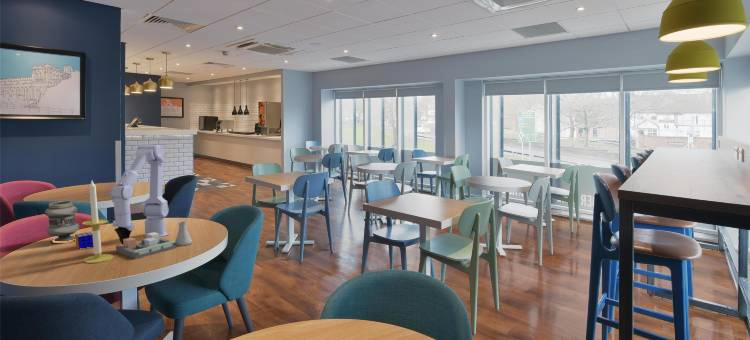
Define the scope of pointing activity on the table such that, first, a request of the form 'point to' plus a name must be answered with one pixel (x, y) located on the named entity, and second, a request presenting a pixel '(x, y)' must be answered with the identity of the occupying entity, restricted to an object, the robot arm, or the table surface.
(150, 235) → the pale grey square block
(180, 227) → the flask
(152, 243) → the pale blue tilted box
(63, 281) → the table surface
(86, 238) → the rubik's cube
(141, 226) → the table surface
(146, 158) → the robot arm
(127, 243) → the clay pink cube
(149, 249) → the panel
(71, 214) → the apothecary jar
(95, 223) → the candle
